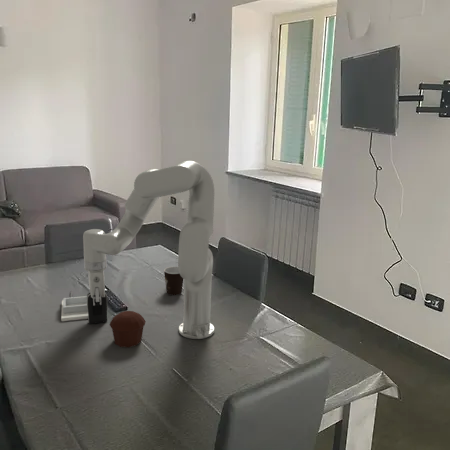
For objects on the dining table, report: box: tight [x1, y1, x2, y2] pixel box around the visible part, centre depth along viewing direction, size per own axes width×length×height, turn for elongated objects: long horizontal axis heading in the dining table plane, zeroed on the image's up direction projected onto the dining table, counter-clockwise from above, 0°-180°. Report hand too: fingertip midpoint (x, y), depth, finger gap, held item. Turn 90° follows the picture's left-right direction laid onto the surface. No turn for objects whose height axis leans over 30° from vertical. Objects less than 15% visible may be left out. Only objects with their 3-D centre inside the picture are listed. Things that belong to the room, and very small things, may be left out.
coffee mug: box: [163, 266, 184, 296], centre depth 195 cm, size 12×9×10 cm
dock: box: [60, 290, 88, 322], centre depth 180 cm, size 26×13×4 cm, turn 18°
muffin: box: [109, 310, 146, 348], centre depth 153 cm, size 12×11×10 cm
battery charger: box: [86, 292, 108, 325], centre depth 166 cm, size 7×4×11 cm, turn 112°
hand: (97, 311), depth 166 cm, fingers closed on battery charger, 4 cm apart
